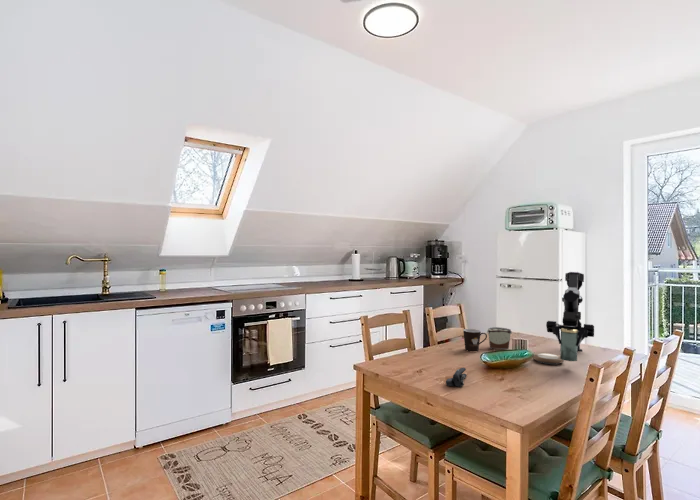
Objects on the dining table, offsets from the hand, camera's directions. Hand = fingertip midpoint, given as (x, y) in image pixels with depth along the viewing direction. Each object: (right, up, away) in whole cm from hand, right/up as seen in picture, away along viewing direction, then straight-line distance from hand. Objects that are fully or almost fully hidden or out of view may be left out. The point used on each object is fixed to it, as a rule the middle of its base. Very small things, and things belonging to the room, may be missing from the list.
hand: (568, 344), depth 182 cm
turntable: (-3, -9, +12) cm, 16 cm away
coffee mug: (-31, -10, +31) cm, 45 cm away
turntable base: (-3, -10, +12) cm, 16 cm away
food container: (-17, -10, +38) cm, 43 cm away
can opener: (-52, -11, -18) cm, 56 cm away
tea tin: (+1, -7, +1) cm, 7 cm away
